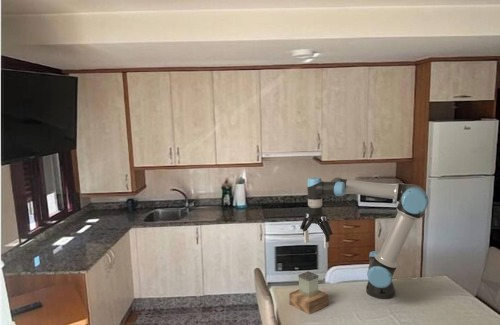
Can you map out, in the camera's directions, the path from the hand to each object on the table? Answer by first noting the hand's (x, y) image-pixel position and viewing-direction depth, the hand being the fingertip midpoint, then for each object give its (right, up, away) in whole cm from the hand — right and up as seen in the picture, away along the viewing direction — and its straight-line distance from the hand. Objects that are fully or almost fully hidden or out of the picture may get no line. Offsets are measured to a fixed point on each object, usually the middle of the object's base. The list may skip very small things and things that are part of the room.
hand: (316, 244), depth 202 cm
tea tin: (-5, -23, -9) cm, 26 cm away
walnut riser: (-5, -29, -8) cm, 31 cm away
